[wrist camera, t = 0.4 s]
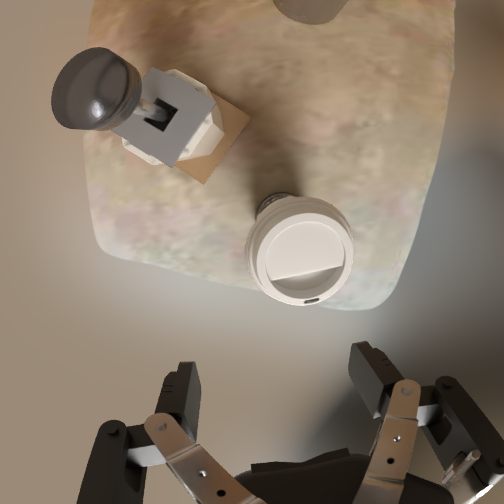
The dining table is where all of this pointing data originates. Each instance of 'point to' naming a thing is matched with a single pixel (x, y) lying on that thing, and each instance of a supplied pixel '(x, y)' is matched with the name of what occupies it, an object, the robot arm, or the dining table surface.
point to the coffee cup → (299, 249)
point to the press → (183, 125)
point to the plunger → (103, 93)
